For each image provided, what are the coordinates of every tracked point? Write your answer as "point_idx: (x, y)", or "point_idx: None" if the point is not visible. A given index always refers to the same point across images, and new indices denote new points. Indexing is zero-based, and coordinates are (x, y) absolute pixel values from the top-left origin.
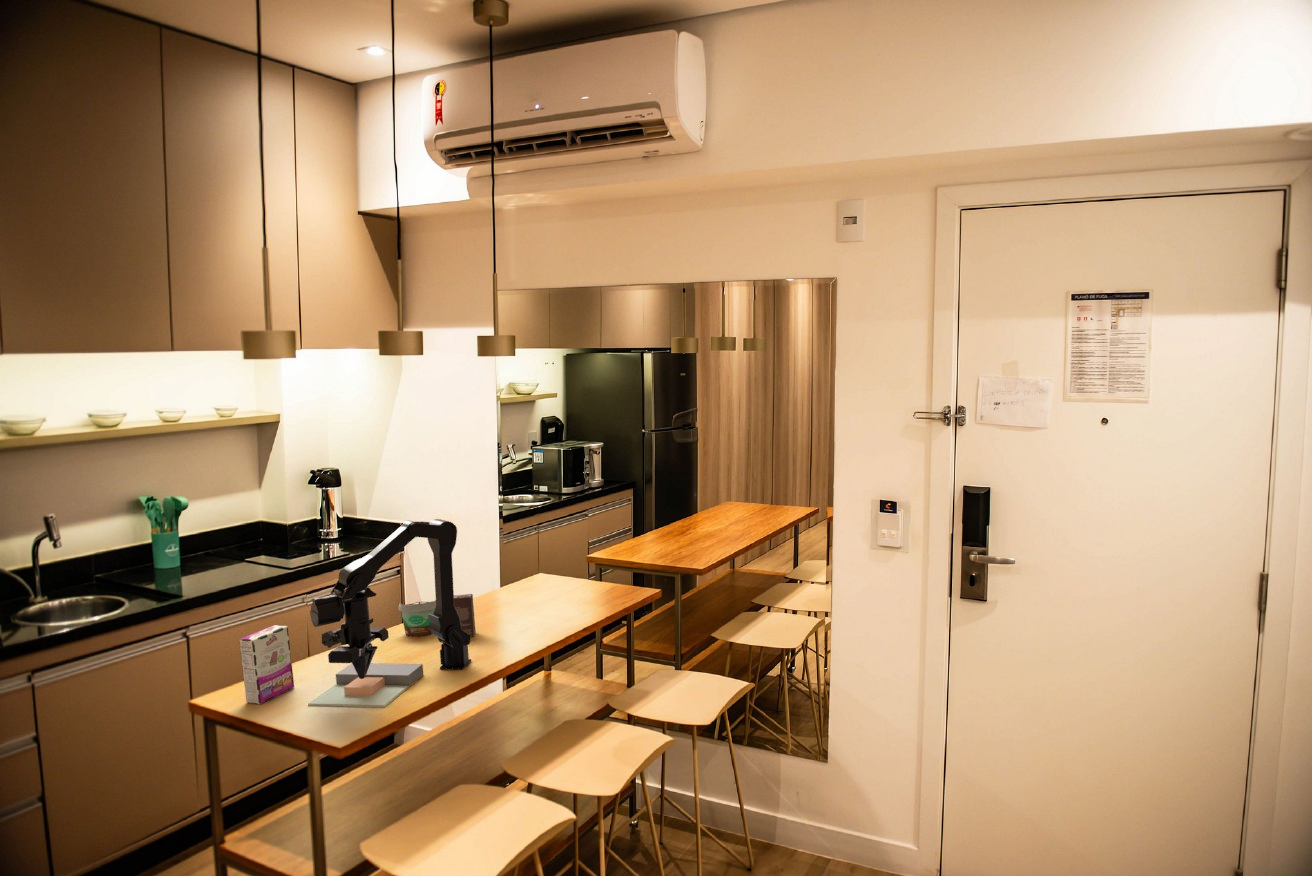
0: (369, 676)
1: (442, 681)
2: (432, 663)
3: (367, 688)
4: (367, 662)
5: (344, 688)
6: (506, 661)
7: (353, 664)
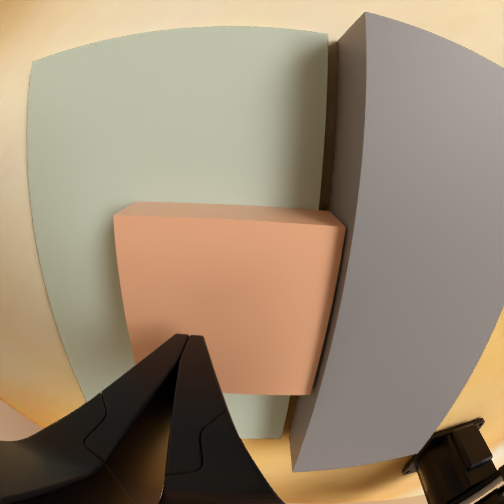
0: (333, 311)
1: (326, 474)
2: (494, 384)
3: None
4: (155, 498)
5: (116, 217)
6: (416, 492)
7: (74, 419)
